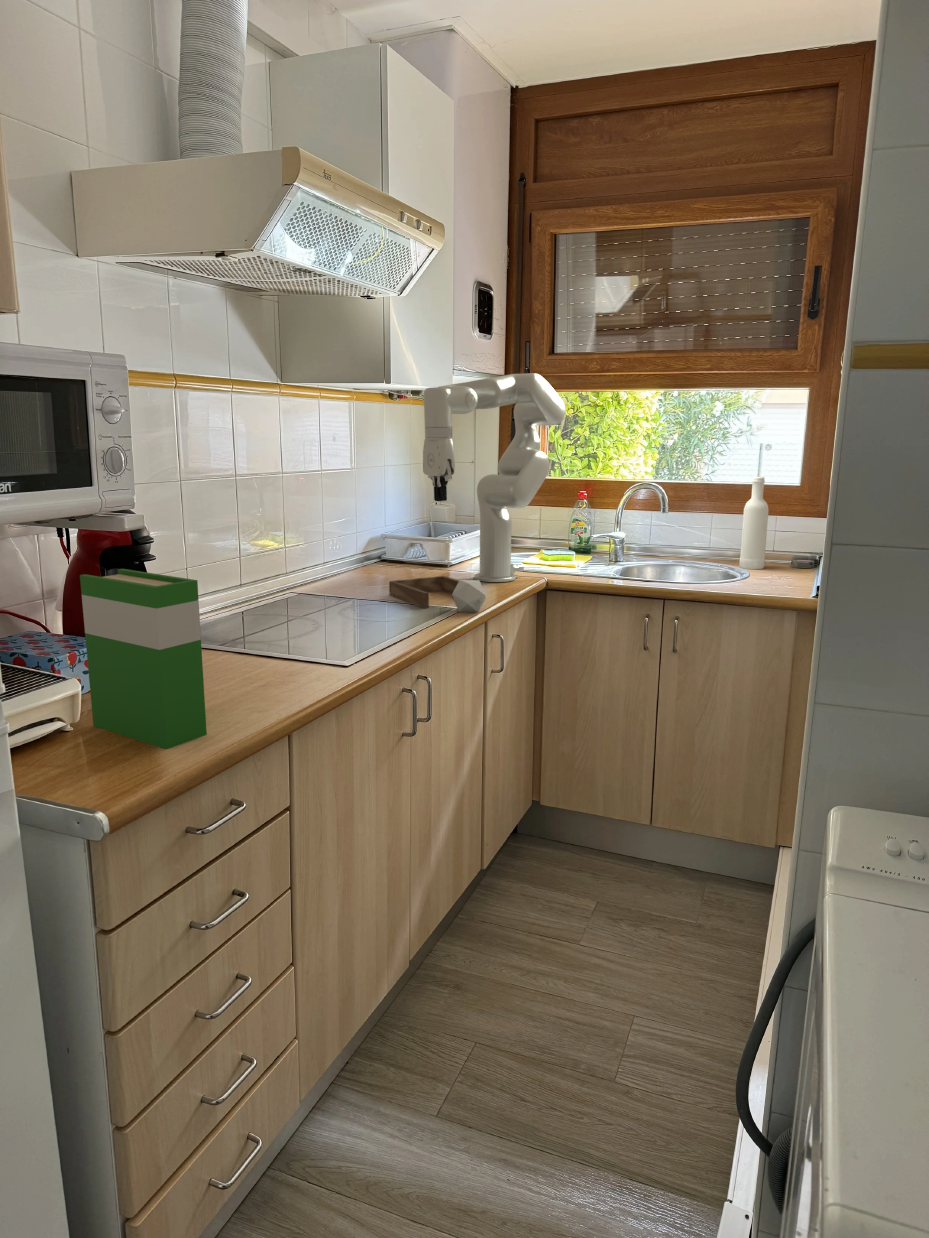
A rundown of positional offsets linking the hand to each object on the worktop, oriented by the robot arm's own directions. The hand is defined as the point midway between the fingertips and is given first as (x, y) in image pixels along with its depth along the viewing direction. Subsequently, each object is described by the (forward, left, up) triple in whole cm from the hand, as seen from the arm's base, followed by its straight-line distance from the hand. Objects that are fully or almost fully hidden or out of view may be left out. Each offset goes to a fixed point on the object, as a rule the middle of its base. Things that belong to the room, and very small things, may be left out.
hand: (440, 500), depth 245 cm
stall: (+8, +10, -25) cm, 28 cm away
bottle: (-110, +17, -26) cm, 115 cm away
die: (+8, +28, -26) cm, 39 cm away
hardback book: (+98, +78, -26) cm, 128 cm away
